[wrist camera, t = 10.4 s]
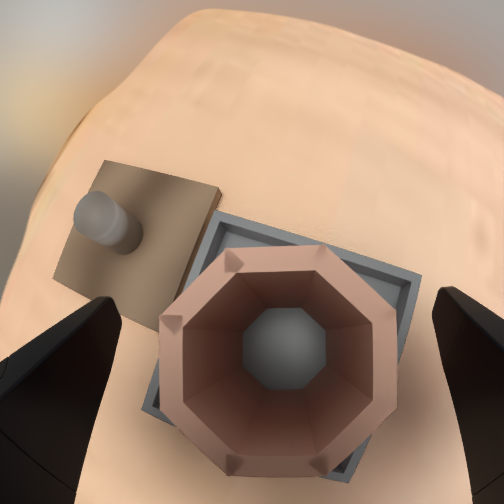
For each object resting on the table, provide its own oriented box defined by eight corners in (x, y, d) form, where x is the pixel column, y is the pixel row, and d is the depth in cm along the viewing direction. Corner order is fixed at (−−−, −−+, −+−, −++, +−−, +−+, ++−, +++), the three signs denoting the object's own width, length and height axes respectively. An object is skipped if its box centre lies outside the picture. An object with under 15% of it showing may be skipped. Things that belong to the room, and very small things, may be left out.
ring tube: (209, 349, 17) (116, 359, 7) (282, 274, 18) (273, 199, 8) (302, 436, 15) (312, 540, 6) (376, 361, 16) (472, 385, 6)
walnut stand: (221, 194, 20) (201, 152, 15) (167, 333, 18) (127, 331, 13) (110, 166, 22) (75, 130, 17) (61, 281, 20) (12, 265, 15)
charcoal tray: (407, 282, 17) (422, 275, 15) (342, 467, 15) (348, 483, 13) (223, 224, 19) (214, 209, 17) (157, 402, 17) (141, 410, 15)
